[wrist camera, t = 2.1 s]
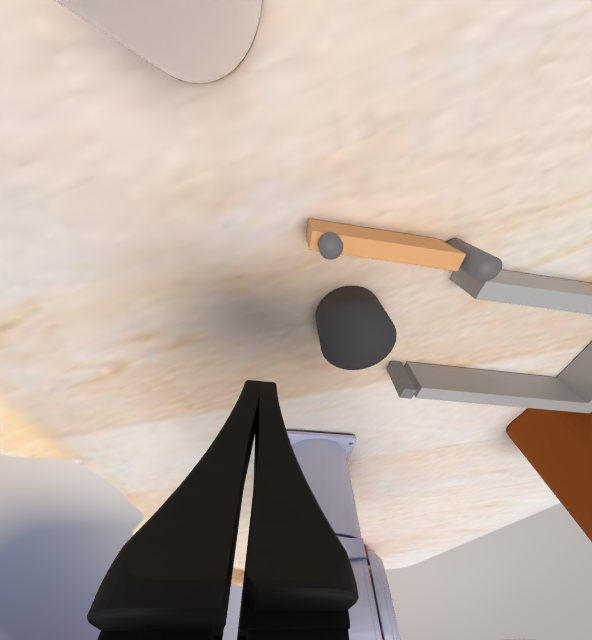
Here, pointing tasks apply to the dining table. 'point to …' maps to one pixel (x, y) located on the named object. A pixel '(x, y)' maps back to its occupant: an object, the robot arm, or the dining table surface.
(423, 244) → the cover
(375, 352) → the dark grey cylinder
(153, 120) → the dining table surface
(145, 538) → the robot arm
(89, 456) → the dining table surface
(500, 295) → the grey frame
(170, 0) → the can
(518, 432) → the grey and orange block
